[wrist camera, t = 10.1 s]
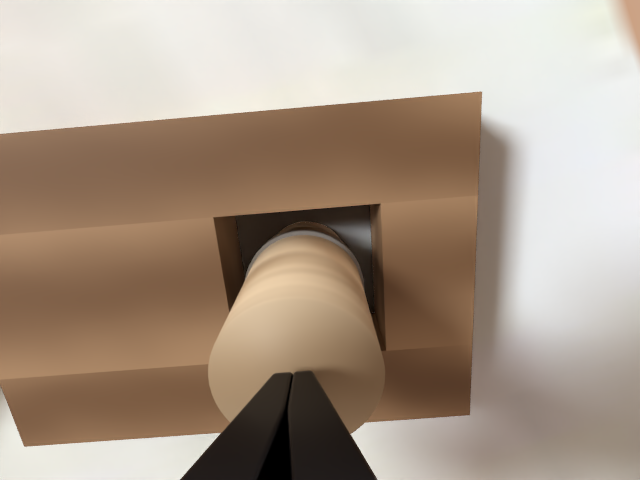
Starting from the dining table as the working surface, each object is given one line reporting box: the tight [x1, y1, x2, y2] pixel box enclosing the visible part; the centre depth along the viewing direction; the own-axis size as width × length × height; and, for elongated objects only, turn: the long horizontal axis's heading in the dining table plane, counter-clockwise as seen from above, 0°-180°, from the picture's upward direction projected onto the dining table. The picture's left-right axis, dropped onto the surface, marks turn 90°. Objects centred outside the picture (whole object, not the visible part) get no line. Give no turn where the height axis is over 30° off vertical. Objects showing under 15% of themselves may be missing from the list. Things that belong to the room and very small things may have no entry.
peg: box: [208, 221, 385, 434], centre depth 12 cm, size 4×4×8 cm
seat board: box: [0, 92, 482, 447], centre depth 15 cm, size 12×18×3 cm, turn 95°
